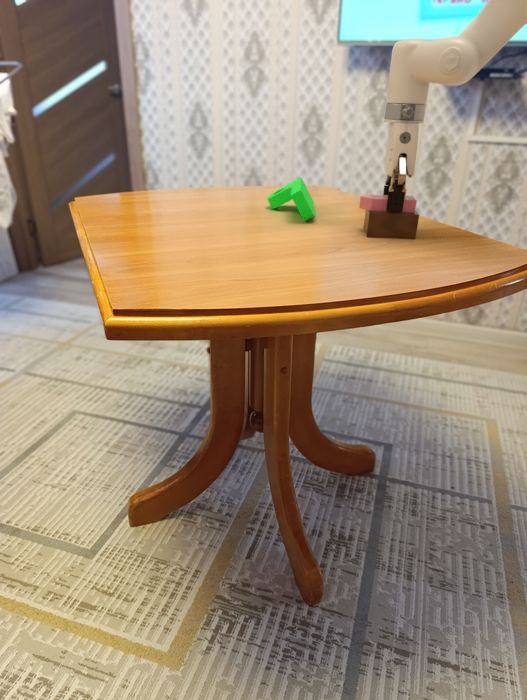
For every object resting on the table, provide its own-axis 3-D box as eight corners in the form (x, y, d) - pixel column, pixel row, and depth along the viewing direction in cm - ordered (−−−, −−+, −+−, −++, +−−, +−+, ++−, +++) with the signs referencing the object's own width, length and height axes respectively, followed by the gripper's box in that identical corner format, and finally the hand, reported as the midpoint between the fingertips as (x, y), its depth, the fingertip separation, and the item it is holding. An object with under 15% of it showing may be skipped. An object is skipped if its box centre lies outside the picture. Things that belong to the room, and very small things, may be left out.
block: (409, 229, 112) (412, 206, 110) (415, 239, 105) (419, 214, 103) (363, 227, 113) (366, 204, 111) (366, 236, 106) (369, 212, 104)
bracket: (280, 220, 135) (267, 195, 132) (314, 202, 132) (301, 176, 129) (277, 239, 117) (261, 210, 114) (315, 218, 114) (300, 189, 111)
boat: (410, 208, 109) (414, 186, 107) (414, 212, 104) (418, 190, 102) (358, 206, 109) (360, 184, 107) (360, 210, 105) (362, 188, 103)
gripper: (433, 116, 91) (417, 218, 99) (416, 113, 106) (403, 201, 114) (390, 115, 91) (378, 216, 99) (379, 112, 106) (369, 200, 115)
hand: (391, 207), depth 107 cm, fingers open, 6 cm apart
